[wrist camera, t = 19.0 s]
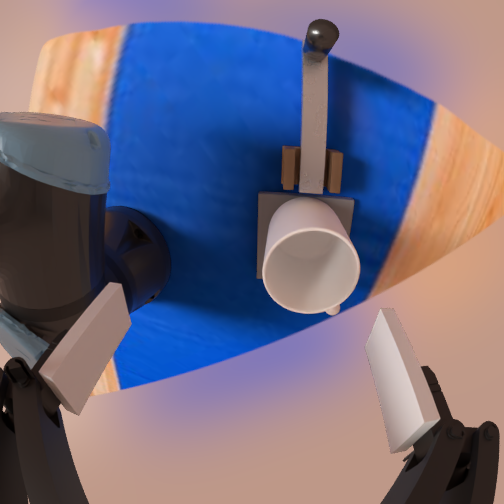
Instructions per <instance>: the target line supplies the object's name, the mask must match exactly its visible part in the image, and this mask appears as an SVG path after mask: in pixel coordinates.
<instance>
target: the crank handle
mask: <svg viewBox="0 0 504 504" xmlns="http://www.w3.org/2000/svg"><path fill="white" fill-rule="evenodd" d="M338 38H339V30H338V28H337V27H336V25H335V24H333V23H332V22H330V21H328V20H324V19H318V20H315V21H313V22H312V23H310V25H309V27H308V31H307V35H306V39H305V40H303V41H302V97H301V136H300V160H299V180H298V191H299V192H300V193H314V194H323V182H324V169H325V153H326V134H327V104H328V53H329V52H330V50H331V49H332V47H333V46H334V44H335V42H336V41H337V39H338Z"/></svg>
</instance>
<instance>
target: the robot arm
mask: <svg viewBox="0 0 504 504" xmlns="http://www.w3.org/2000/svg"><path fill="white" fill-rule="evenodd" d="M110 150H111V144H110V139H109V137H108V135H107V133H106V132H105V131H104V130H103V129H102V128H101V127H100V126H98V125H96V124H94V123H91V122H88V121H85V120H81V119H76V118H72V117H66V116H60V115H54V114H45V113H33V112H20V113H19V112H18V113H15V112H14V113H8V112H3V113H0V300H1V303H0V343H1V345H2V346H3V347H4V349H5V350H6V351H7V352H8V353H9V354H10V356H11V357H12V359H10V360H9V361H8V362H7V363H6V364H5V366H4V370H2V369H1V368H0V504H28V498H29V502H30V504H89V503H88V500H87V498H86V495H85V493H84V490H83V488H82V485H81V483H80V480H79V477H78V474H77V471H76V468H75V465H74V462H73V459H72V455H71V452H70V448H69V445H68V441H67V437H66V433H65V429H64V424H63V420H62V415H61V411H60V409H59V405H60V404H62V405H63V406H64V407H65V409H66V410H68V411H70V412H72V413H74V414H76V415H78V416H79V415H80V413H81V411H82V409H83V407H84V405H85V403H86V402H87V400H88V398H89V396H90V394H91V392H92V390H93V389H94V387H95V385H96V383H97V381H98V380H99V378H100V376H101V374H102V373H103V371H104V369H105V367H106V366H107V364H108V362H109V360H110V359H111V357H112V355H113V354H114V352H115V350H116V349H117V347H118V345H119V344H120V342H121V340H122V339H123V337H124V335H125V334H126V332H127V331H128V329H129V327H130V326H131V320H130V316H129V314H130V313H132V312H134V311H135V310H137V309H139V308H141V307H142V306H144V305H145V304H147V303H149V302H151V301H152V300H154V299H155V298H156V297H157V296H158V295H159V294H160V293H161V291H162V290H163V288H164V287H165V285H166V283H167V282H168V279H169V276H170V271H171V259H170V254H169V250H168V247H167V244H166V242H165V240H164V238H163V236H162V235H161V233H160V232H159V230H158V229H157V228H156V226H155V225H154V224H153V223H152V222H151V221H150V220H149V219H148V218H146V217H145V216H144V215H142V214H141V213H139V212H137V211H135V210H133V209H130V208H127V207H122V206H113V207H108V208H106V198H107V192H108V191H109V189H110V181H109V179H108V177H109V162H110ZM365 350H366V353H367V357H368V361H369V364H370V368H371V371H372V375H373V379H374V382H375V386H376V390H377V394H378V398H379V402H380V406H381V410H382V414H383V418H384V423H385V428H386V432H387V437H388V442H389V447H390V452H391V453H397V452H402V451H406V450H407V449H408V448H409V447H411V446H412V445H413V447H414V451H413V452H411V453H410V454H409V455H408V456H407V457H406V458H404V460H403V461H404V462H405V461H406V460H407V459H408V460H407V462H406V464H405V466H404V468H403V469H402V471H401V473H400V474H399V476H398V478H397V479H396V481H395V483H394V484H393V486H392V487H391V489H390V491H389V492H388V493H387V495H386V496H385V498H384V499H383V501H382V502H381V504H493V501H494V496H495V489H496V482H497V474H498V462H499V429H498V427H497V426H496V424H494V423H493V422H491V421H486V422H484V423H483V424H482V425H481V426H480V427H479V428H472V427H464V425H463V424H462V423H461V422H460V421H459V420H455V419H453V418H452V416H451V413H450V410H449V408H448V405H447V402H446V400H445V397H444V395H443V392H441V388H440V385H438V381H437V378H436V376H435V374H434V373H433V372H432V370H431V369H430V368H429V367H428V366H422V367H420V364H419V362H418V360H417V357H416V355H415V353H414V351H413V348H412V346H411V344H410V342H409V340H408V337H407V335H406V333H405V331H404V329H403V327H402V325H401V323H400V321H399V319H398V317H397V315H396V313H395V311H394V309H390V308H389V309H387V308H381V309H380V311H379V313H378V316H377V319H376V321H375V324H374V326H373V329H372V331H371V333H370V336H369V338H368V340H367V343H366V345H365ZM3 406H4V407H5V408H6V410H5V412H3V411H2V410H3ZM27 495H28V496H27Z"/></svg>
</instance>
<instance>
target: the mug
mask: <svg viewBox="0 0 504 504" xmlns="http://www.w3.org/2000/svg"><path fill="white" fill-rule="evenodd" d="M359 275H360V261H359V257H358V254H357V252H356V250H355V248H354V246H353V244H352V242H351V240H350V238H349V236H348V235H347V233H346V231H345V229H344V227H343V226H342V224H341V222H340V220H339V218H338V217H337V215H336V214H335V212H334V211H333V210H332V209H331V208H330V207H329V206H328V205H327V204H326V203H324V202H322V201H320V200H318V199H315V198H311V197H298V198H294V199H292V200H289V201H287V202H285V203H284V204H283V205H281V206H280V207H279V208H278V209H277V210H276V212H275V213H274V215H273V216H272V219H271V221H270V224H269V229H268V235H267V242H266V249H265V256H264V262H263V269H262V276H263V282H264V285H265V288H266V290H267V292H268V293H269V295H270V296H271V297H272V298H273V299H274V301H276V302H277V303H278V304H279V305H281V306H282V307H284V308H286V309H288V310H291V311H294V312H298V313H304V314H313V313H320V312H324V311H325V312H326V313H328V314H329V315H336V314H337V313H338V312H339V310H340V304H341V303H342V302H343V301H345V300H346V299H347V298H348V297H349V296H350V294H351V293H352V292H353V290H354V289H355V287H356V285H357V282H358V279H359Z"/></svg>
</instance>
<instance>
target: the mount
mask: <svg viewBox="0 0 504 504" xmlns="http://www.w3.org/2000/svg"><path fill="white" fill-rule="evenodd" d="M299 160H300V147H299V146H283V148H282V177H281V184H283V189H284V190H294V184H296V185H298V180H299ZM342 163H343V153H341V152H339V151H338V150H335V149H326V153H325V169H324V182H323V186H324V187H326V188H327V189H328V191H329V192H330V193H339V194H340V186H341V175H342Z"/></svg>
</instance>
